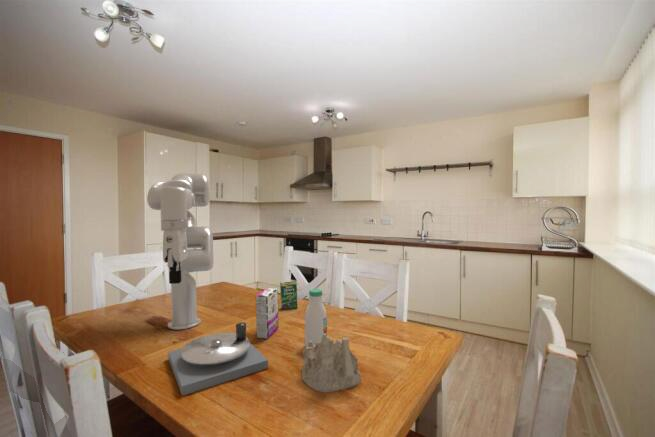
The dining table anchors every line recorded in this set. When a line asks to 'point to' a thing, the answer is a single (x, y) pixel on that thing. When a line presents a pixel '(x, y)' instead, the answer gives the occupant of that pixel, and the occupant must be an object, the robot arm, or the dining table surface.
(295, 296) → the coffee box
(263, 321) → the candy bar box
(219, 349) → the handwheel
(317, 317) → the milk bottle
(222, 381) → the grey base block
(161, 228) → the robot arm
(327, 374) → the grey rough lump
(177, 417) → the dining table surface
